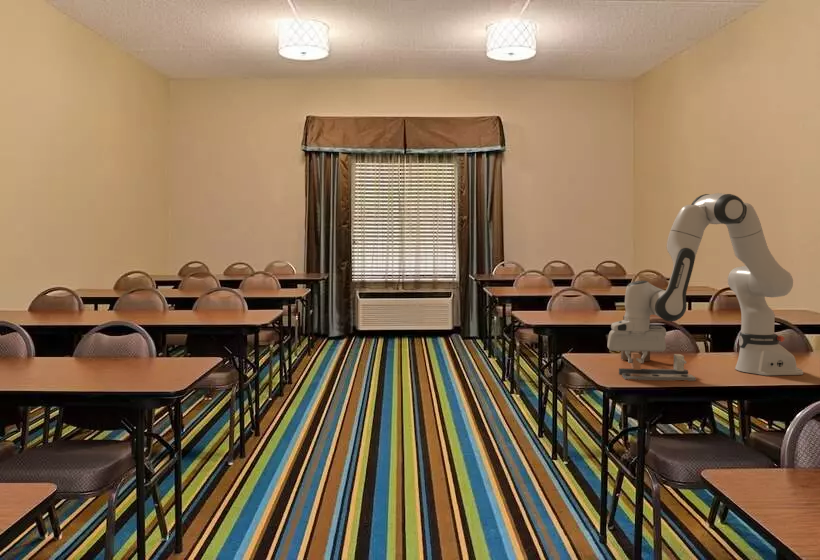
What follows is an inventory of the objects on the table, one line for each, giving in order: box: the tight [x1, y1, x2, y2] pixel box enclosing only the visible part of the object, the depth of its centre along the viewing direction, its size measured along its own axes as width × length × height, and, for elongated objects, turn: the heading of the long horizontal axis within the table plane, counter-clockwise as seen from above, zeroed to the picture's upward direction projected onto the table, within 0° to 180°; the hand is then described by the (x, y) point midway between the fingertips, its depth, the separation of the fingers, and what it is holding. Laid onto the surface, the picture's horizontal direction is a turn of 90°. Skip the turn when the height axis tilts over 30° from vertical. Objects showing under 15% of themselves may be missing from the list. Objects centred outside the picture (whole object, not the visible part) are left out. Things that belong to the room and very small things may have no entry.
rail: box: [618, 353, 689, 375], centre depth 253 cm, size 24×10×7 cm, turn 85°
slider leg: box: [630, 353, 643, 370], centre depth 254 cm, size 2×10×5 cm, turn 175°
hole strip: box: [621, 373, 697, 382], centre depth 249 cm, size 24×5×1 cm, turn 85°
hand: (635, 363), depth 257 cm, fingers closed on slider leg, 2 cm apart
